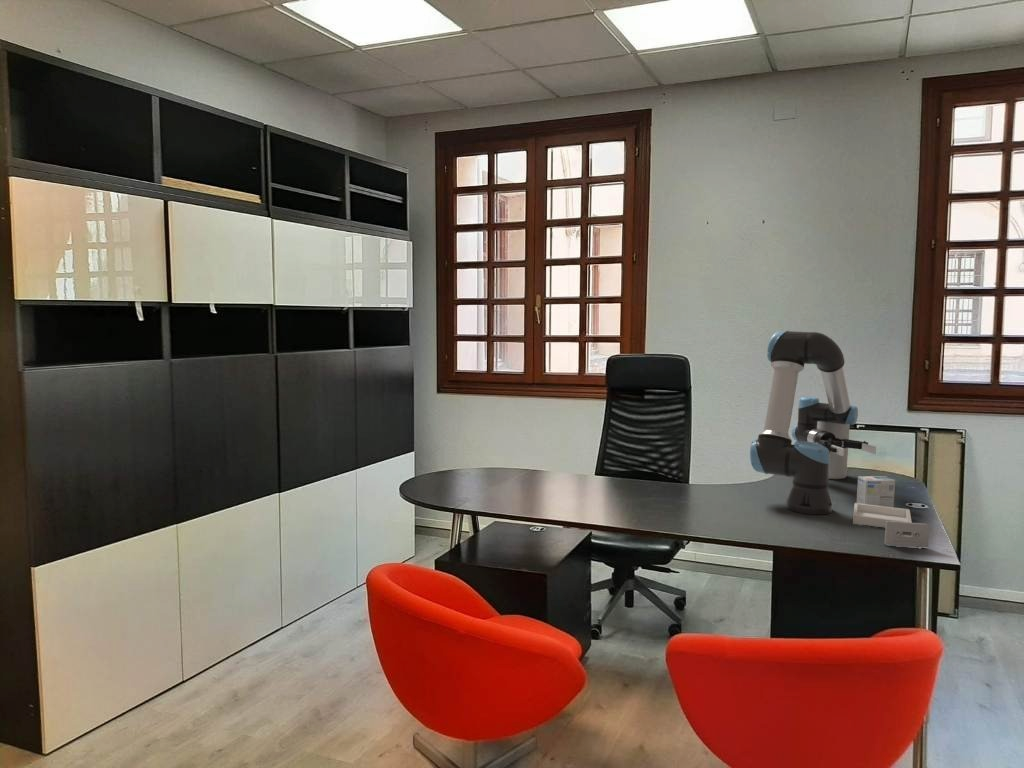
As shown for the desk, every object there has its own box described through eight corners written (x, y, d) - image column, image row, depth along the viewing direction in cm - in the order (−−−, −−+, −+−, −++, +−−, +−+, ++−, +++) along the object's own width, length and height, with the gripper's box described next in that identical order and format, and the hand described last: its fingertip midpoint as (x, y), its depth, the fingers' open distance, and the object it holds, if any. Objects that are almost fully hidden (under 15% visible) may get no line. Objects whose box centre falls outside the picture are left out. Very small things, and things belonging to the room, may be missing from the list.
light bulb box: (884, 504, 270) (886, 475, 268) (894, 509, 263) (896, 480, 262) (855, 504, 269) (857, 475, 268) (864, 509, 263) (866, 480, 261)
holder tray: (911, 531, 238) (911, 522, 238) (852, 524, 245) (853, 515, 245) (908, 517, 253) (909, 509, 253) (854, 511, 260) (854, 502, 260)
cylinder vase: (820, 471, 321) (824, 414, 318) (850, 476, 312) (854, 417, 309) (809, 475, 312) (812, 417, 309) (839, 481, 303) (843, 420, 300)
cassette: (926, 548, 223) (928, 523, 222) (928, 550, 221) (930, 525, 220) (883, 544, 225) (885, 520, 225) (885, 546, 224) (886, 522, 223)
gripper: (848, 447, 298) (887, 459, 277) (794, 450, 292) (829, 463, 271) (849, 429, 297) (888, 439, 276) (795, 432, 291) (830, 443, 270)
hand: (859, 451), depth 274 cm, fingers open, 13 cm apart
